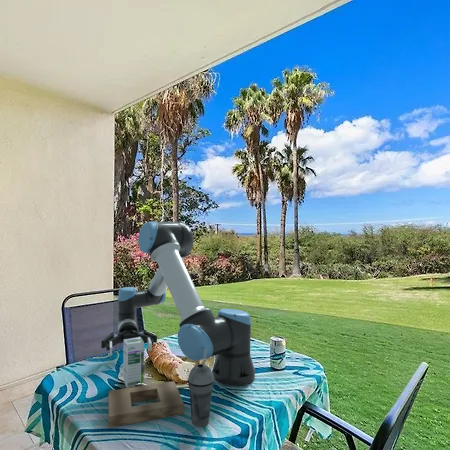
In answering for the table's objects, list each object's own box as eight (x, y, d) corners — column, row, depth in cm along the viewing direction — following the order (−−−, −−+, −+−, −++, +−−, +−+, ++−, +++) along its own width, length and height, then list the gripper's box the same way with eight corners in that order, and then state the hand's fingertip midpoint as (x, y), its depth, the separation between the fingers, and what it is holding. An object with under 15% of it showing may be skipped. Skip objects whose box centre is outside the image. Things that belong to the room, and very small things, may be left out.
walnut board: (174, 390, 107) (174, 381, 107) (183, 414, 94) (183, 403, 94) (108, 400, 101) (108, 390, 101) (108, 427, 88) (108, 416, 88)
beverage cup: (187, 414, 94) (188, 344, 94) (213, 413, 95) (214, 343, 94) (186, 431, 87) (187, 354, 87) (214, 429, 87) (215, 354, 87)
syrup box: (126, 388, 108) (126, 344, 108) (122, 380, 113) (123, 338, 113) (143, 384, 111) (144, 341, 111) (139, 377, 116) (140, 335, 116)
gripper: (158, 336, 142) (166, 355, 122) (95, 342, 134) (93, 364, 114) (158, 319, 142) (166, 335, 122) (95, 324, 134) (93, 342, 114)
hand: (131, 349), depth 118 cm, fingers open, 13 cm apart
